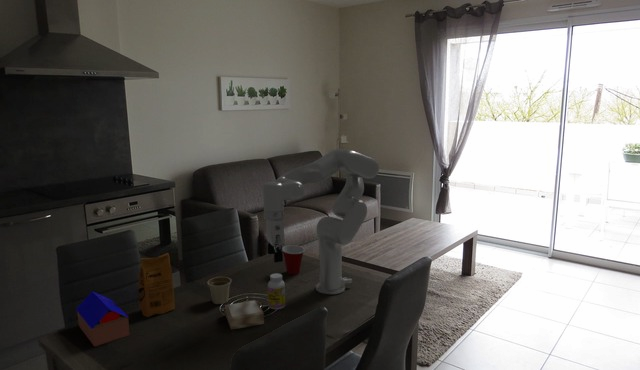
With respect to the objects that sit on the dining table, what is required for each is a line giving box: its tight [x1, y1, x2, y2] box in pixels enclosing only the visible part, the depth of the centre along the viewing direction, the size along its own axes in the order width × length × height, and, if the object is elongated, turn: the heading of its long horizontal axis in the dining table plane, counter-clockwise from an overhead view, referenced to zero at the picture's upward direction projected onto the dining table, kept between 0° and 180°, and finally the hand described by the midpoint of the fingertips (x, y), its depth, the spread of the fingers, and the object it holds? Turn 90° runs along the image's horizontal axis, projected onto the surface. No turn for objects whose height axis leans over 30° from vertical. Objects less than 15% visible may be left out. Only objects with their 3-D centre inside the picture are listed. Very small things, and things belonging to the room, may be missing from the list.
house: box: [75, 291, 131, 347], centre depth 158 cm, size 12×20×12 cm, turn 42°
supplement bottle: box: [267, 273, 286, 311], centre depth 175 cm, size 7×7×13 cm
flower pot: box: [207, 276, 232, 305], centre depth 181 cm, size 9×9×9 cm
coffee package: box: [137, 252, 176, 318], centre depth 172 cm, size 10×12×22 cm
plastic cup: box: [282, 244, 306, 276], centre depth 211 cm, size 11×11×12 cm
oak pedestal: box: [224, 299, 265, 330], centre depth 166 cm, size 12×12×4 cm
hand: (275, 257), depth 173 cm, fingers open, 9 cm apart
